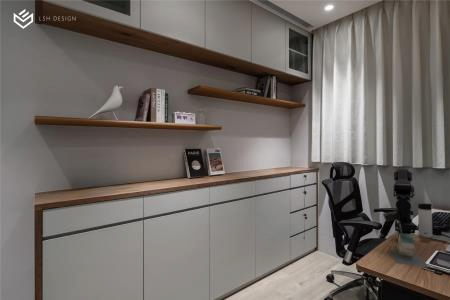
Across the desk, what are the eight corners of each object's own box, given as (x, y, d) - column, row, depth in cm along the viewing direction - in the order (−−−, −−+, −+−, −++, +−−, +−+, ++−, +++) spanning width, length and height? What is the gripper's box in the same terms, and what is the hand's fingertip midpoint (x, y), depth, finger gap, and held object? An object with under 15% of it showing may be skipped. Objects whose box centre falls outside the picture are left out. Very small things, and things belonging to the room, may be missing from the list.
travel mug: (427, 239, 139) (427, 204, 140) (416, 235, 146) (415, 202, 146) (435, 237, 141) (434, 203, 141) (423, 234, 147) (422, 201, 148)
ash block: (397, 246, 122) (399, 233, 118) (409, 247, 120) (412, 234, 116) (399, 254, 118) (402, 241, 114) (412, 256, 116) (415, 242, 112)
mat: (388, 250, 125) (388, 249, 125) (417, 254, 120) (417, 253, 120) (396, 264, 110) (396, 263, 110) (429, 269, 105) (429, 267, 105)
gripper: (380, 202, 131) (381, 231, 131) (388, 210, 114) (389, 243, 114) (405, 204, 127) (406, 233, 126) (417, 212, 109) (418, 246, 109)
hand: (404, 239), depth 119 cm, fingers closed
